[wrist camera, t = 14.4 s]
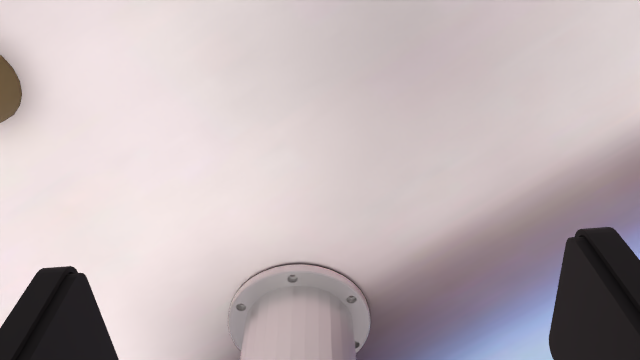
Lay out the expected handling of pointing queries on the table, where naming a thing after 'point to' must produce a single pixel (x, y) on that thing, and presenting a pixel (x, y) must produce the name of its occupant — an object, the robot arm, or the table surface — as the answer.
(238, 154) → the table surface
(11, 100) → the cork
